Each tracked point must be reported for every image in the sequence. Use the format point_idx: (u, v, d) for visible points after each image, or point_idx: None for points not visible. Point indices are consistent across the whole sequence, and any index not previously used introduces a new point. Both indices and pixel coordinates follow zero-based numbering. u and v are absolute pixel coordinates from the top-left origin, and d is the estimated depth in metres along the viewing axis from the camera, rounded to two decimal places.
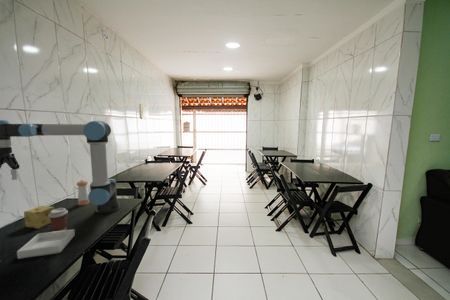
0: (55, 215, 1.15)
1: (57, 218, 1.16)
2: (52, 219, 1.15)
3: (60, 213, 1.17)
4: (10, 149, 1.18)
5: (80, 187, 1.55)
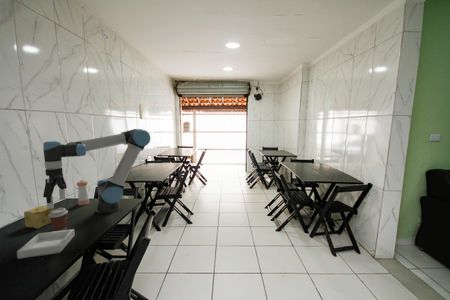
0: (55, 215, 1.15)
1: (57, 218, 1.16)
2: (52, 219, 1.15)
3: (60, 213, 1.17)
4: (61, 170, 1.17)
5: (80, 187, 1.55)
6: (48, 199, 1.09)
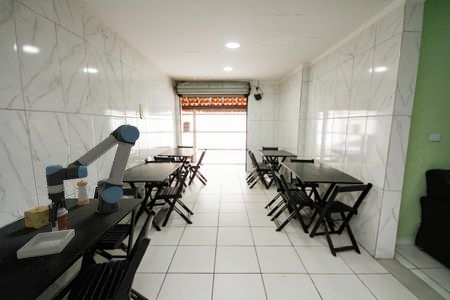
0: None
1: (57, 218, 1.16)
2: None
3: (60, 213, 1.17)
4: (64, 193, 1.19)
5: (80, 187, 1.55)
6: (53, 224, 1.13)
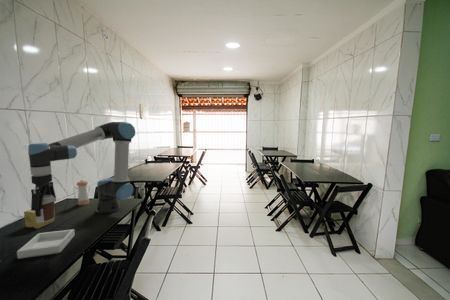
0: None
1: (42, 206, 0.98)
2: None
3: (46, 200, 0.99)
4: (50, 177, 1.00)
5: (80, 187, 1.55)
6: (37, 212, 0.95)
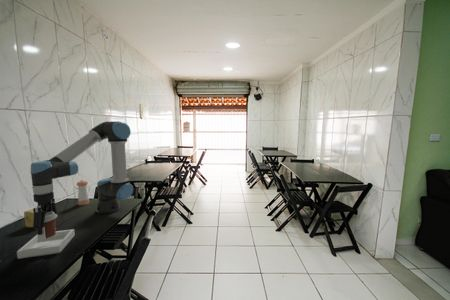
0: None
1: (44, 224, 0.99)
2: None
3: (47, 218, 1.00)
4: (52, 194, 1.02)
5: (80, 187, 1.55)
6: (39, 230, 0.96)
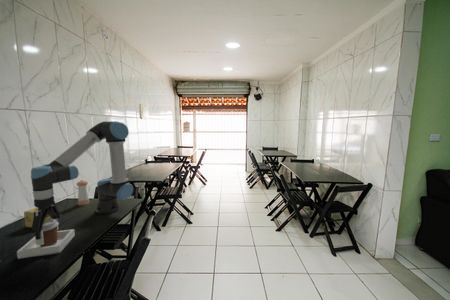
0: (43, 228, 0.99)
1: (45, 232, 1.00)
2: None
3: (49, 226, 1.01)
4: (53, 199, 1.02)
5: (80, 187, 1.55)
6: (37, 235, 0.95)
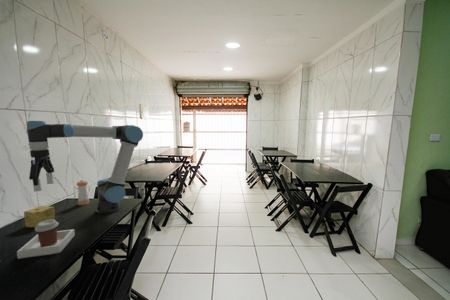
0: (43, 229, 0.99)
1: (45, 232, 1.00)
2: (40, 233, 0.99)
3: (49, 226, 1.00)
4: (48, 151, 1.10)
5: (80, 187, 1.55)
6: (35, 181, 1.03)
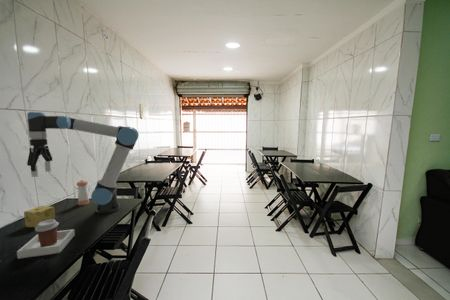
0: (43, 229, 0.99)
1: (45, 232, 1.00)
2: (40, 233, 0.99)
3: (49, 226, 1.00)
4: (46, 141, 1.20)
5: (80, 187, 1.55)
6: (32, 167, 1.12)
